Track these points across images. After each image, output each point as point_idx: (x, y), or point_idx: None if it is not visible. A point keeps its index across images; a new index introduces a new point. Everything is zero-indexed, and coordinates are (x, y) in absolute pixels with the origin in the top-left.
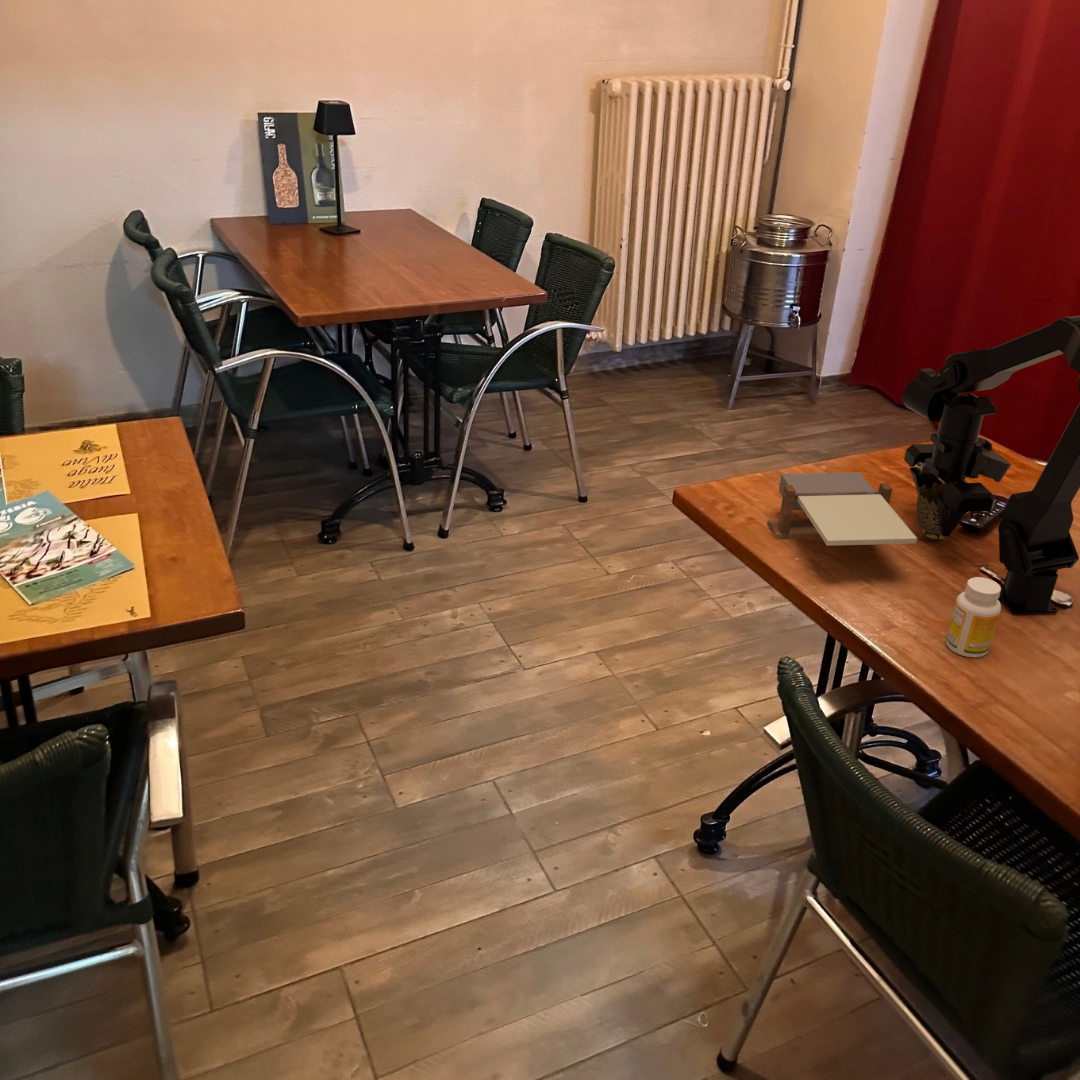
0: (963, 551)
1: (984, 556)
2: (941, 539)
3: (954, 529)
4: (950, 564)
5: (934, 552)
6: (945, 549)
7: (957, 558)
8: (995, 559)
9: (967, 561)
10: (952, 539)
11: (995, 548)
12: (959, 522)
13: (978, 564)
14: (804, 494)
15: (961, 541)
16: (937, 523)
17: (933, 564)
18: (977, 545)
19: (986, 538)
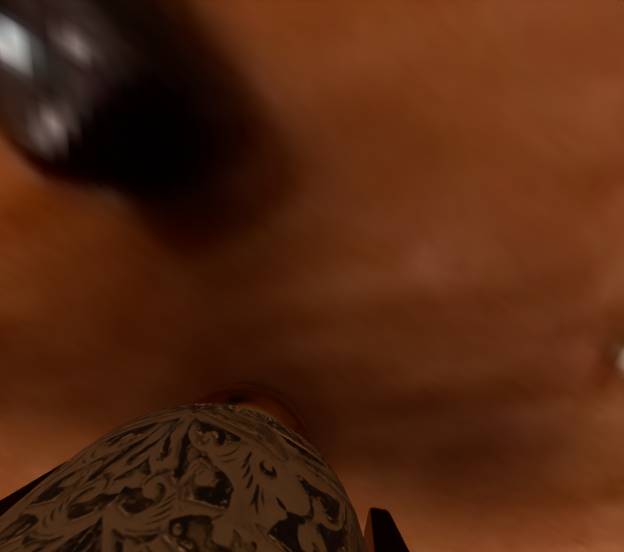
0: (421, 357)
1: (516, 271)
2: (310, 442)
3: (327, 463)
4: (526, 488)
5: (392, 490)
6: (376, 430)
7: (483, 427)
8: (579, 221)
9: (532, 398)
10: (275, 338)
11: (441, 125)
12: (324, 498)
13: (588, 361)
14: None
15: (305, 302)
16: None
17: (497, 549)
18: (372, 232)
19: (289, 105)
